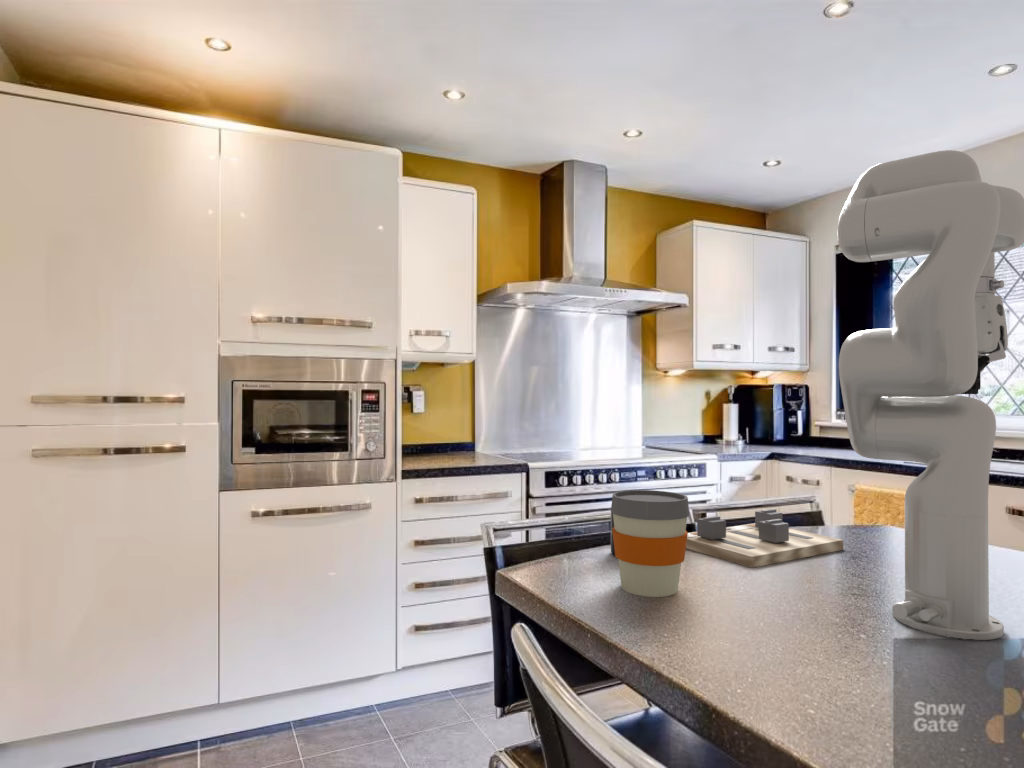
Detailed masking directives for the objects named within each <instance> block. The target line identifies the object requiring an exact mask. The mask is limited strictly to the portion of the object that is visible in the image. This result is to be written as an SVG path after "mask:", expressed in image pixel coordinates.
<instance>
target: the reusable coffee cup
mask: <svg viewBox="0 0 1024 768" xmlns="http://www.w3.org/2000/svg"><path fill="white" fill-rule="evenodd" d="M611 512H612V513H613V519H614V527H613V528H612V532H613V540H614V549H615V556H614V557H616V559H617V560H618V567H619V577H620V584H621V585H620V586H621V588H622V590H623V591H625V592H627V593H629V594H632V595H635V596H636V595H637V596H640V597H649V598H660V597H661V598H663V597H669V596H673V595H675V594H677V593H678V591H679V583H680V574H681V567H682V563H683V562H684V561H685V557H686V549H687V548H686V543H687V536H688V533H689V532H688V531H687V530H686V529H687V523H688V517H690V507H689V498H688V496H687V495H685V494H682V493H678V492H672V491H664V490H663V491H662V490H650V489H649V490H648V489H634V490H633V489H632V490H621V491H620V490H619V491H615V492H614V493H612V499H611V506H610V513H611Z"/></svg>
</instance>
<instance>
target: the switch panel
mask: <svg viewBox="0 0 1024 768" xmlns="http://www.w3.org/2000/svg"><path fill="white" fill-rule="evenodd" d="M687 533H688V536H687V543H686V549H688V550H690V551H693V550H694V552H697V553H700V554H704V555H708V556H710V557H711V556H712V557H714V558H718V559H720V560H721V559H722V560H725V561H727V562H728V561H729V562H731V563H735V564H738V565H742V566H746V567H748V568H749V567H750V568H751V569H752V568H757V567H762V566H767V565H773V564H778V563H782V562H787V561H792V560H793V561H794V560H798V559H802V558H807V557H813V556H818V555H819V556H820V555H823V554H828V553H832V552H834V553H835V552H839V551H843V550H844V539H842V538H837V537H831V536H828V535H821V534H819V533H818V534H817V533H812V532H808V531H803V530H798V529H794V528H789V541H785V542H779V543H773V542H769V541H765V540H761V539H759V528H756V527H755V522H754V523H747V524H740V525H734V526H726V538H720V539H714V540H711V539H708V538H704V537H700V536H697V531H692V532H687Z"/></svg>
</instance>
